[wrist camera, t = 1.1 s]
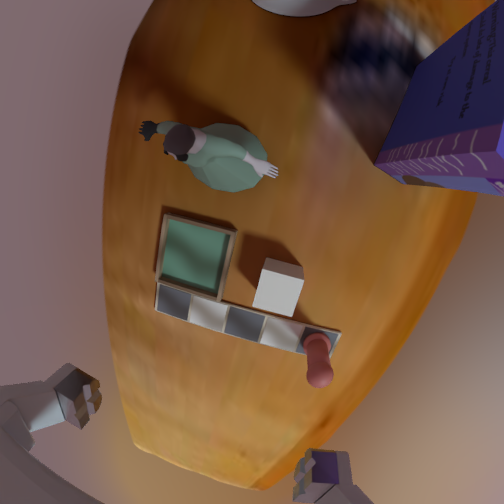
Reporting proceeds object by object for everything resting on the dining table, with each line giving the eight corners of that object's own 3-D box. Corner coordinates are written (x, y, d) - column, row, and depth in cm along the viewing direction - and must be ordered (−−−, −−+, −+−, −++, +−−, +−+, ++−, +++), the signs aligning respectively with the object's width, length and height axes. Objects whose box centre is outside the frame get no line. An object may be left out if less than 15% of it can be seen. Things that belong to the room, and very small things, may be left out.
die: (266, 256, 37) (262, 268, 32) (302, 266, 36) (304, 280, 31) (257, 290, 38) (252, 306, 33) (292, 299, 38) (291, 317, 33)
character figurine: (161, 166, 35) (69, 164, 18) (182, 110, 33) (102, 69, 16) (268, 208, 35) (245, 238, 18) (293, 149, 32) (295, 117, 15)
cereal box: (402, 184, 31) (539, 203, 8) (373, 164, 31) (498, 151, 8) (442, 85, 26) (550, 31, 3) (416, 66, 26) (511, -11, 3)
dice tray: (168, 212, 37) (164, 213, 35) (237, 230, 36) (235, 232, 35) (159, 277, 40) (154, 281, 38) (222, 297, 39) (219, 302, 37)
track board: (158, 280, 40) (157, 282, 39) (341, 331, 38) (341, 334, 37) (156, 308, 41) (154, 310, 41) (329, 358, 39) (329, 360, 39)
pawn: (308, 329, 38) (311, 368, 29) (334, 335, 37) (342, 374, 29) (299, 351, 39) (299, 391, 30) (324, 356, 39) (329, 397, 30)
